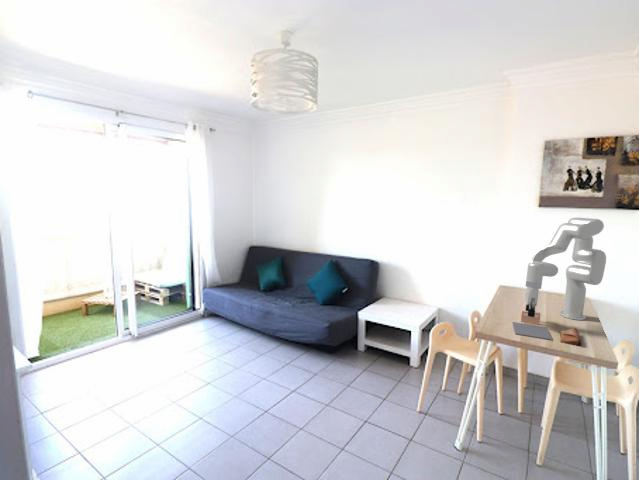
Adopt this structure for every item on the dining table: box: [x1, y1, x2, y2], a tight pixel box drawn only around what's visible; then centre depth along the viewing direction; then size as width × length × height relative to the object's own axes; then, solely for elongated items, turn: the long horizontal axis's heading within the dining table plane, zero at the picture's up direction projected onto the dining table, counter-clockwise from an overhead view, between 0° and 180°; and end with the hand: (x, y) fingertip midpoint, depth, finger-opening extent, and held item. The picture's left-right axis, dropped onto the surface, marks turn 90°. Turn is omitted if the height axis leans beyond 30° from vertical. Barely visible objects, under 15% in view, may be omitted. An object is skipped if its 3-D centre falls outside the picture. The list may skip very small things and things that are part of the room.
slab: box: [520, 309, 541, 326], centre depth 190 cm, size 2×9×6 cm, turn 64°
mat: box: [511, 321, 553, 341], centre depth 178 cm, size 18×16×1 cm
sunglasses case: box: [558, 327, 582, 347], centre depth 170 cm, size 18×7×7 cm
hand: (529, 314), depth 190 cm, fingers open, 9 cm apart
